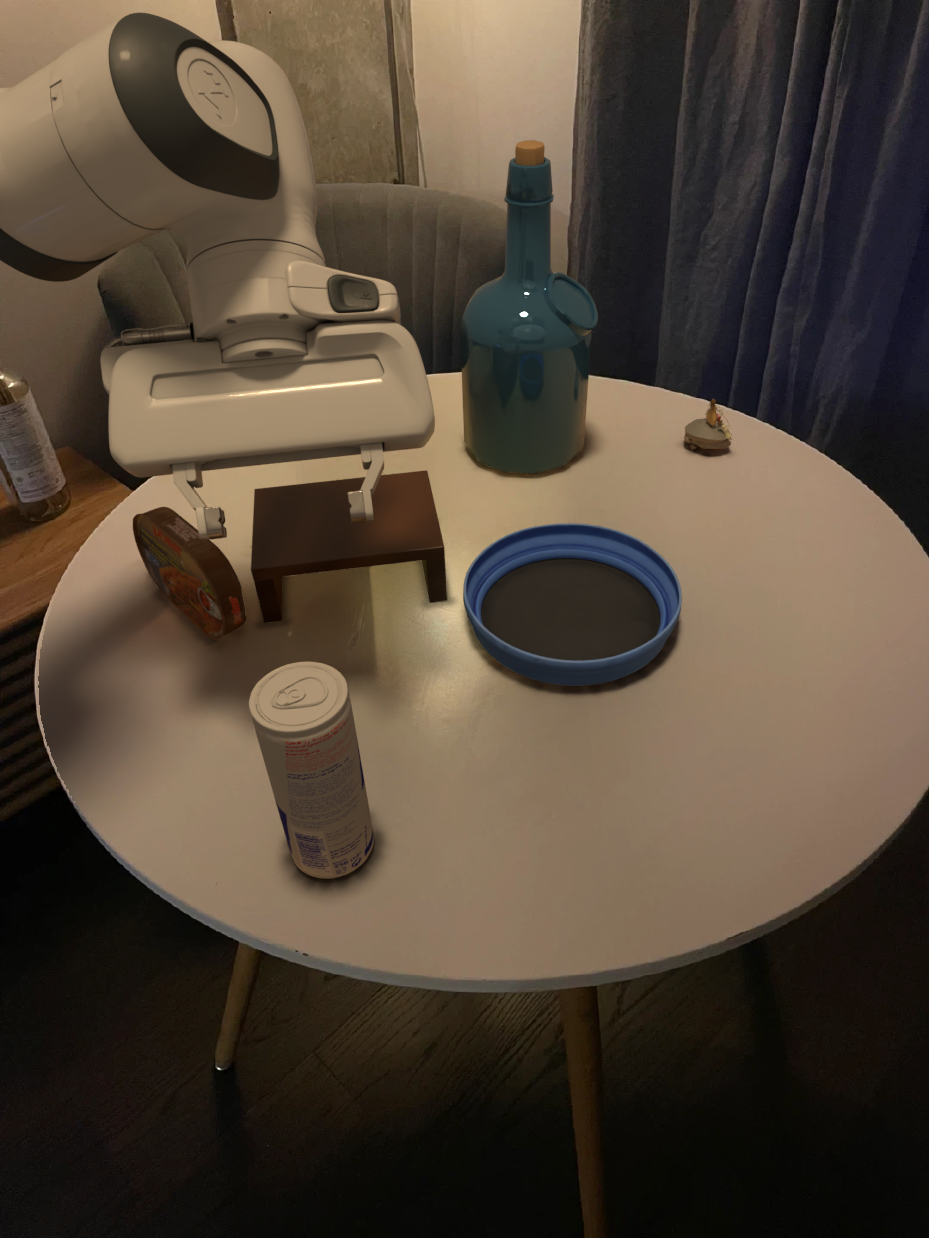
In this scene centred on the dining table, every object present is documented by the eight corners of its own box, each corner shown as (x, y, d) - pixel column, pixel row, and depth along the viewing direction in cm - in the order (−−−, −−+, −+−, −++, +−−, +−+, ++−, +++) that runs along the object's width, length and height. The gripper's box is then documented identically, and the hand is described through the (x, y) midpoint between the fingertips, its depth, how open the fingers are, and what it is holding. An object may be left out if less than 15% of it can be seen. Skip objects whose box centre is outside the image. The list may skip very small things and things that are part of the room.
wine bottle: (444, 465, 94) (428, 158, 74) (490, 407, 103) (487, 119, 83) (567, 490, 90) (585, 172, 70) (604, 427, 99) (629, 130, 79)
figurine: (675, 449, 95) (683, 399, 91) (691, 431, 98) (699, 381, 94) (722, 463, 93) (732, 411, 89) (737, 444, 96) (748, 393, 92)
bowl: (719, 617, 75) (726, 585, 73) (578, 730, 66) (581, 698, 64) (562, 528, 85) (564, 497, 83) (421, 616, 77) (418, 585, 74)
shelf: (263, 623, 76) (250, 569, 72) (266, 541, 85) (254, 488, 81) (447, 601, 78) (444, 546, 74) (430, 522, 87) (427, 469, 83)
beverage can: (390, 832, 60) (368, 678, 50) (341, 896, 57) (307, 745, 47) (325, 799, 62) (290, 645, 52) (274, 859, 59) (226, 707, 49)
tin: (144, 576, 82) (117, 500, 76) (174, 561, 83) (151, 486, 78) (229, 659, 73) (206, 580, 68) (261, 641, 75) (242, 562, 69)
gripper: (79, 312, 53) (105, 541, 52) (420, 282, 55) (448, 502, 54) (112, 350, 59) (135, 555, 59) (416, 322, 61) (442, 520, 60)
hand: (288, 529), depth 56 cm, fingers open, 8 cm apart
